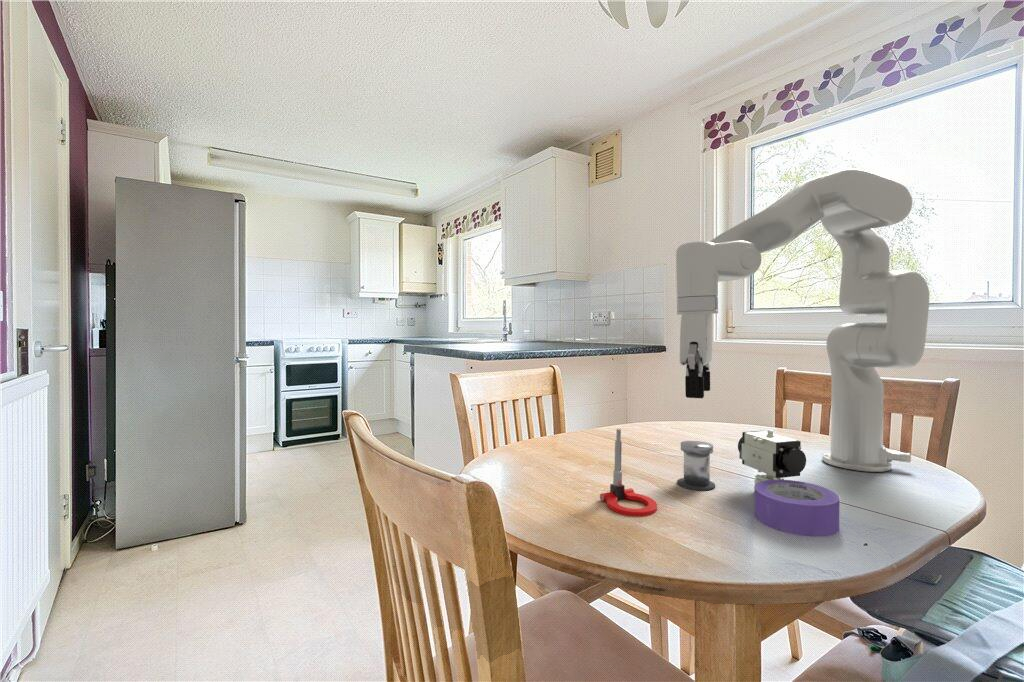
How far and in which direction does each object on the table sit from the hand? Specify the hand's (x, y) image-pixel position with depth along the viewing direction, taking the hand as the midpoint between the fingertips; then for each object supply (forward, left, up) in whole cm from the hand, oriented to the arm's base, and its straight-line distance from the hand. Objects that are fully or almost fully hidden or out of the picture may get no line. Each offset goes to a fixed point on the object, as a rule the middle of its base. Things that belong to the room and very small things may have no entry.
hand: (698, 394), depth 94 cm
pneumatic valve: (-12, 0, -18) cm, 22 cm away
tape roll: (-16, +11, -18) cm, 27 cm away
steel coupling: (0, 0, -18) cm, 18 cm away
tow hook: (+9, +17, -18) cm, 27 cm away
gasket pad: (0, 0, -18) cm, 18 cm away
